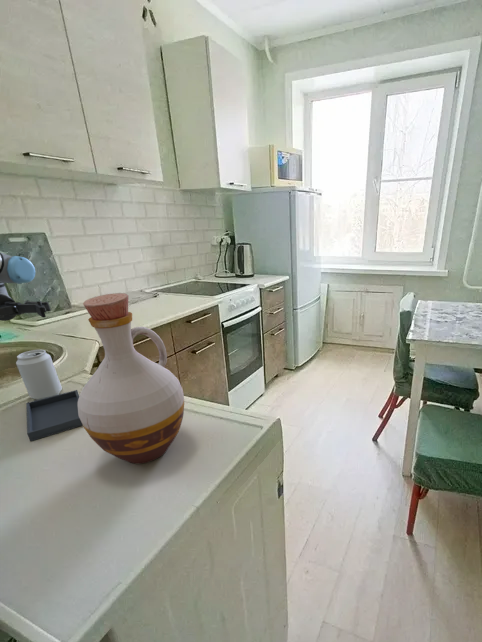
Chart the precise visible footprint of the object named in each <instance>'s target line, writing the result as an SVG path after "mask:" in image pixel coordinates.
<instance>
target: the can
mask: <svg viewBox="0 0 482 642" xmlns="http://www.w3.org/2000/svg"><path fill="white" fill-rule="evenodd" d="M46 351H47V350H45V349H32V350H29V351H28V350H27V351H24V352H22V353H19V354H18V355H17V356H16V358H17V360H16V362H15V364H16V367H17V370H18V372H19V374H20V377H21V379H22V382H23V385H24V387H25V389H26V391H27V394H28V396H29V398H31V399H32V400H34V401H36V400H40V399H44V398H48V397H51V396H55V395H59V394H61V391H62V389H63V386H62V384H61V381H60V378H59V376H58V373H57V369H56V367H55V365H54V362H53V359H52V357H51V355H50V354H49V353H47V352H46Z"/></svg>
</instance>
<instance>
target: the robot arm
mask: <svg viewBox="0 0 482 642" xmlns="http://www.w3.org/2000/svg"><path fill="white" fill-rule="evenodd" d="M35 277H36V268H35V265H34V264H33V263H32V262H31V260H30V259H28V258H26V257H23V256H18V255H9V254H7V253H4V252H1V251H0V322H9V321H11V320H13V319H14V318H16V317H17V316H21V315H24V314H37V315H38V316H39V317H41V318H47V316H46V313H47V312H51V311H52V309H51V306H50V304H49V302H48V301H41V300H38V301H35V300H34V301H33V300H32V301H31V300H29V299H28V300H25V301H24V302H23V303H21V302H19V301H15V300H14V299H13V297H11V296H10V295H9V293H8V290H7V287H6V285H5V284H17V285H21V284H29V283H31V282H32V281H33V280H34V279H35Z"/></svg>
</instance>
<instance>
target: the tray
mask: <svg viewBox="0 0 482 642" xmlns="http://www.w3.org/2000/svg"><path fill="white" fill-rule="evenodd" d="M79 396H80V393H79V391H78V389H75V390H71V391H66V392H63V393H59V394H58V395H55V396H51V397H48V398H44V399H40V400H33V401H29V402H26V403H25V407H26V408H25V410H26V411H25V412H26V430H27V431H26V434H27V437H28V439H29V441H30V442H33V441H38V440H40V439H43V438H46V437H50V436H52V435H56V434H60V433H62V432H66V431H69V430H73V429H76V428H79V427H82V426H83V424H82V422H81V420H80V418H79V415H78V399H79Z"/></svg>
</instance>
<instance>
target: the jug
mask: <svg viewBox="0 0 482 642" xmlns="http://www.w3.org/2000/svg"><path fill="white" fill-rule="evenodd" d="M82 305H83V307H84V308H85V310H86V311H87V313H88V314H89V316H90V317H89V318H88V320H87V321H88V322H89V324H90V326H91V327H92V328H94V330H95V331H96V333H97V335H98V338H99V340H100V342H101V344H102V347H103V350H104V358H103V359H102V361H101V362H100V364H99V366H98V367H97V368H96V370H95V372H94V373H93V374H92V375H91V376H90V377H89V379H88V380H87V382H86V383H85V384H84V386H83V387H82V388H81V390H80V393H79V399H78V415H79V418H80V420H81V422H82V424H83V429H84V430H85V432H86V433H87V434H88V436H89V437H90V439H91V440H92V441H94V443H95V444H96V445H97V446H99V448H100V449H102V450H103V452H106V453H107V454H109V455H111V456H114V457H116V458H118V459H120V460H123V461H124V462H128V463H131V464H134V465H135V464H136V465H137V464H139V465H140V464H147V463H150V462H153V461H155V460H157V459H159V458H160V457H162V456H164V454H165V453H166V452H167V451H168V449H169V448H170V446H171V445H172V443H173V442H174V441H175V439H176V437H177V435H178V433H179V432H180V430H181V427H182V423H183V418H184V414H185V413H184V412H185V395H184V389H183V387H182V385H181V382H180V380H179V379H178V377H176V375H175V374H174V373H172V371H171V370H169V369H167V368H166V365H167V362H168V353H167V349H166V346H165V343H164V341H163V340H162V338H161V337H160V335H159V334H157V333H156V332H155V331H154V330H152V329H151V328H148V327H147V326H146V327H145V326H135V327H133V328H132V327H131V326H132V321H133V313H132V311H129V295H128V294H127V293H124V292H115V293H114V292H113V293H105V294H101V295H97V296H93V297H90V298H88V299H86V300H84V301H83V303H82ZM139 335H141V336H142V335H143V336H145V337H148V338H149V339H150V340H151V341H152V342H153V343H154V344H155V346H156V348H157V350H158V355H159V356H158V358H159V361H158V363H157V362H154V361H153V360H150V359H149V358H147V356H144V355H143V354H141V353H139V352H138V351H137V350H136V349H135V347H134V339H135V338H136V337H137V336H139Z"/></svg>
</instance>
